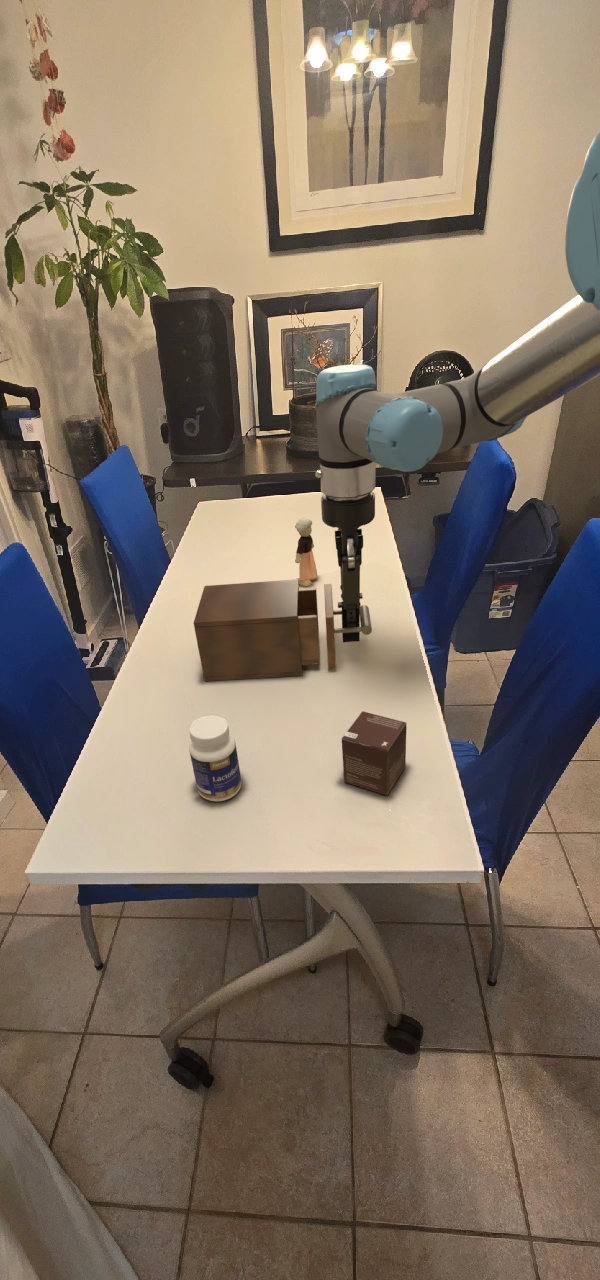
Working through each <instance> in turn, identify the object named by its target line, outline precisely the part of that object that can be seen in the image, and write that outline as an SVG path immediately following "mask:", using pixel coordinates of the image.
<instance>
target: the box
mask: <svg viewBox="0 0 600 1280" xmlns="http://www.w3.org/2000/svg"><path fill="white" fill-rule="evenodd" d="M407 724H408V723H407V722H406V721H401V720H398V719H395V718H390V717H387V716H383V715H379V714H375V713H372V712H367V711H363V710H362V711H361V712H360V713H359V715H358V716H357V718H356V719H355V720H354V722H353V723H352V724H351V726H350V727H349V728H348V729H347V730H346V732H345V733H344V734H343V736H342V737H341V751H342V768H343V783H346V784H350V785H352V786H356V787H359V788H362V789H366V790H369V791H372V792H374V793H379V794H381V795H384V796H388V795H389V794H390V792H392V789H393V788H394V786H395V784H396V783H397V781H398V779H399V777H400V776H401V774H402V773H403V771H404V769H405V768H406V760H407V759H406V758H407V757H406V756H407Z"/></svg>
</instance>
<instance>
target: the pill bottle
mask: <svg viewBox="0 0 600 1280" xmlns="http://www.w3.org/2000/svg"><path fill="white" fill-rule="evenodd" d="M188 732H189V737H190V740H191V741H190V742H189V746H188V750H189V751H188V752H189V757H190V761H191V765H192V770H193V775H194V780H195V785H196V789H197V791H198V794H199V795H200V796H201V797H202V798H203V799H205V800H207V801H211V802H223V801H227V800H229V799H232V798H233V797H235V796H236V795H237V794H238V793H239V791H240V789H241V788H242V774H241V769H240V763H239V756H238V751H237V744H236V740H235V737H234V736H233V735H232V733H230V726H229V722H228V720H226V719H225V718H224V717H222V716H219V715H213V714H212V715H209V714H208V715H204V716H200V717H198V718H197V719H195V720H193V721H192V722H191V724H190V725H189V728H188Z"/></svg>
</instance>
